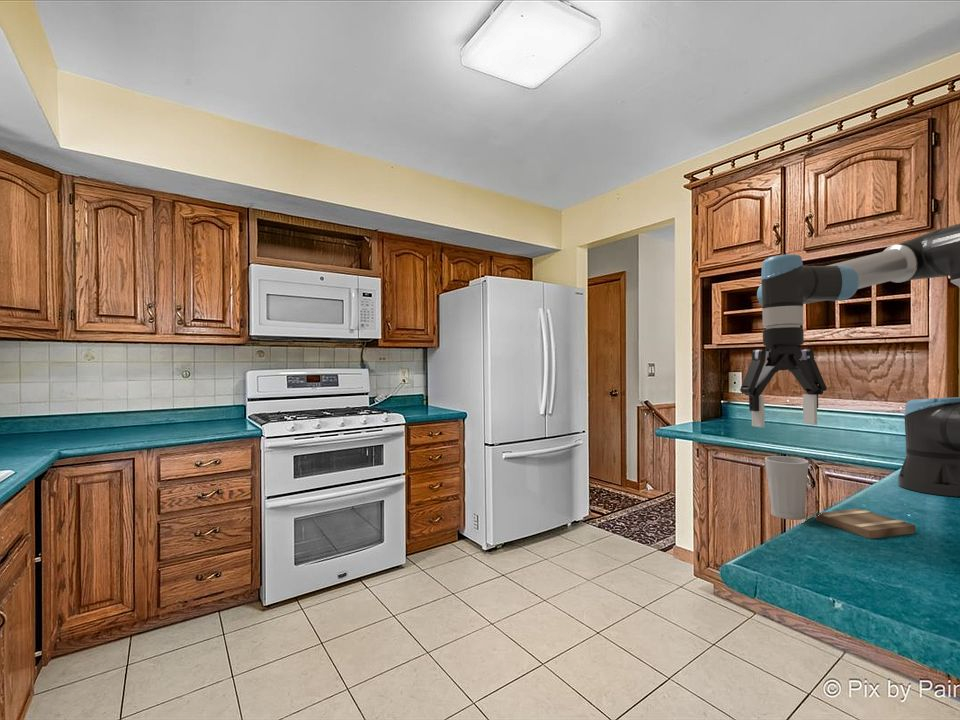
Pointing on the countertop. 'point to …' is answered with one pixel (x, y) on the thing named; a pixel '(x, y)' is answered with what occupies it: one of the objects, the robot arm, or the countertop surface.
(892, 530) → the striped wooden coaster
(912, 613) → the countertop surface
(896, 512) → the countertop surface
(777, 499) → the cup
